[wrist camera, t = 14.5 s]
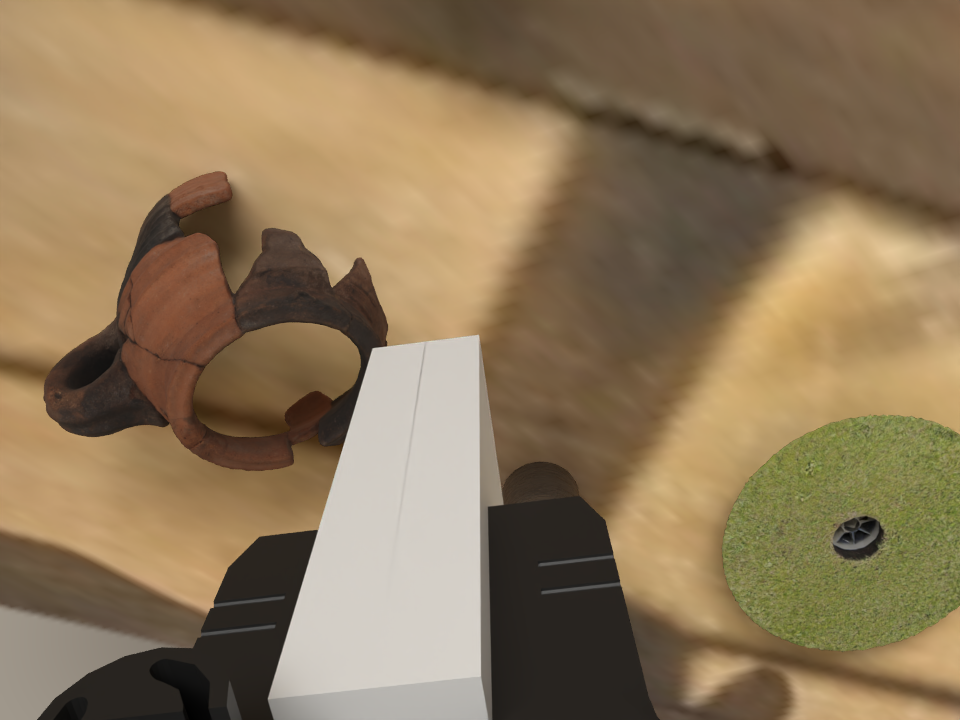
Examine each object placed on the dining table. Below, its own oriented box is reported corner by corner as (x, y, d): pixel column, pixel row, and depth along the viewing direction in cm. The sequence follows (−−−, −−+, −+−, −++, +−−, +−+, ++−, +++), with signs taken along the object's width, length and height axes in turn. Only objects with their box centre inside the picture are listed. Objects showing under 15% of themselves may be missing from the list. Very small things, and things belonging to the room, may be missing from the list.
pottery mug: (279, 106, 31) (340, 227, 25) (384, 285, 37) (450, 413, 32) (-24, 269, 30) (-32, 430, 25) (138, 420, 37) (161, 573, 31)
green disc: (867, 340, 34) (889, 358, 32) (1034, 509, 37) (1062, 535, 35) (656, 521, 37) (665, 547, 35) (824, 664, 40) (840, 695, 38)
